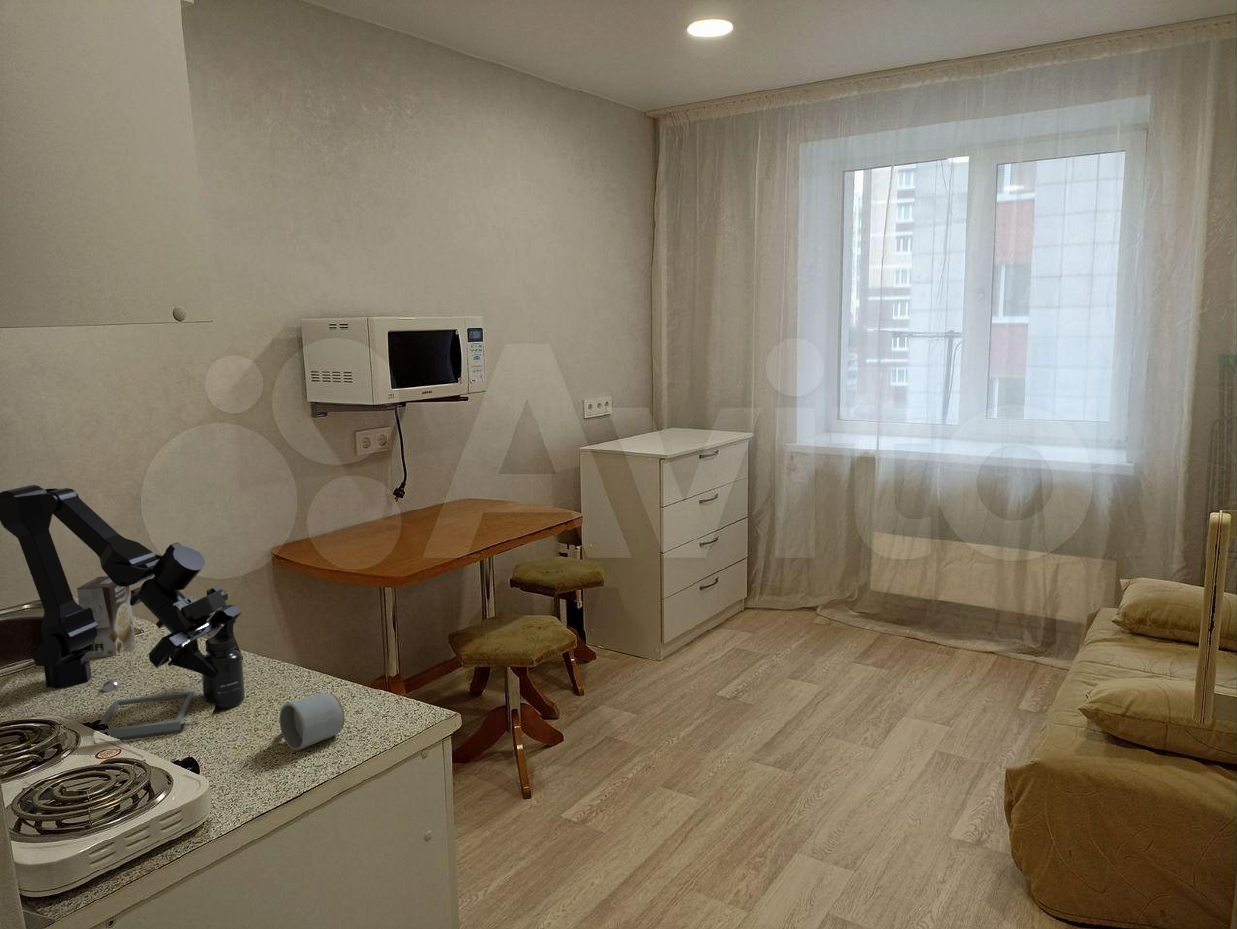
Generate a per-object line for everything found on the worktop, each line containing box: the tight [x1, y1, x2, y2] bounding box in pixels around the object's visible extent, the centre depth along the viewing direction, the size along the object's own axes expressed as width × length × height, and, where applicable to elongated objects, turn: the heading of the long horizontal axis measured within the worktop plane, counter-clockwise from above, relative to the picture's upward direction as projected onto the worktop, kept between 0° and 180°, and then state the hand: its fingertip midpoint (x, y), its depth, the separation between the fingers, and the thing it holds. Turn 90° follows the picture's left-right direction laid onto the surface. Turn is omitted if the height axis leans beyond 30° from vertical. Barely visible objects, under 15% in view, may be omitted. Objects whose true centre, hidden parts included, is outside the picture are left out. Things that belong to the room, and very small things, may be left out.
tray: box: [99, 690, 196, 741], centre depth 153 cm, size 13×13×2 cm
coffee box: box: [76, 575, 136, 659], centre depth 183 cm, size 9×6×16 cm
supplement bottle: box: [201, 635, 246, 711], centre depth 159 cm, size 7×7×12 cm
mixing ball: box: [102, 679, 122, 693], centre depth 164 cm, size 3×3×3 cm
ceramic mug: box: [279, 692, 346, 751], centre depth 145 cm, size 11×8×8 cm
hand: (228, 668), depth 159 cm, fingers closed on supplement bottle, 7 cm apart
